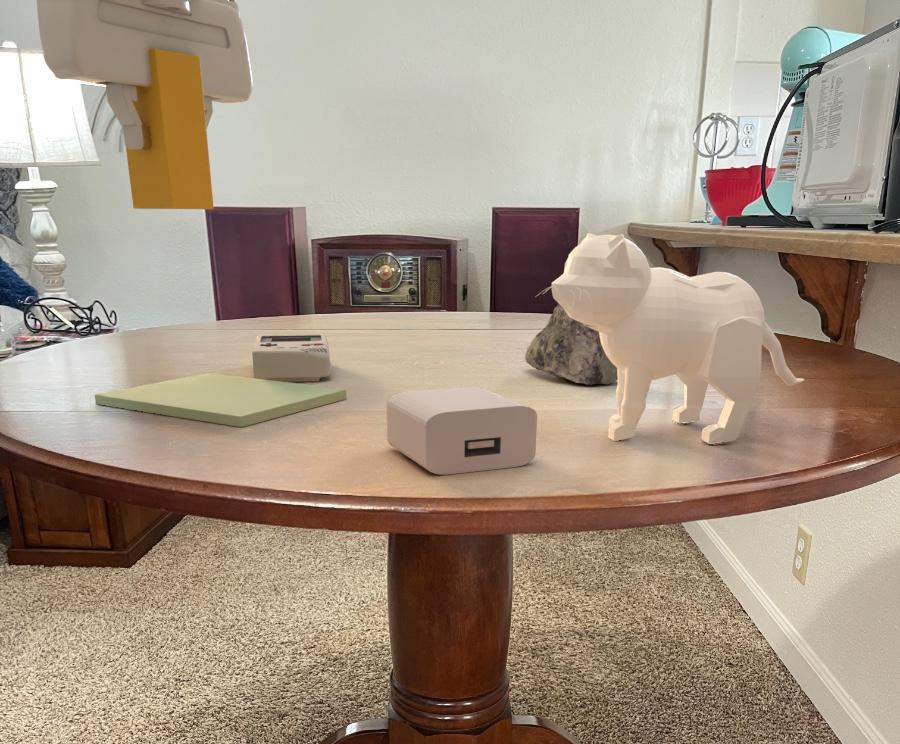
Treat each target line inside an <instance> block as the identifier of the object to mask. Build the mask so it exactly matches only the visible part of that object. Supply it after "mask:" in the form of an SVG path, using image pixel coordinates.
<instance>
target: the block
mask: <svg viewBox="0 0 900 744" xmlns="http://www.w3.org/2000/svg"><path fill="white" fill-rule="evenodd" d="M149 56H150V64H151V72H152V85H151V87H141V86H136V88H137V98H138V101H137V102H133V104H134V107H135V109H136V111H137V113H138V115H139V118H140V120H141V122H142V124H143V125H141V126H149V127H150V133H151V137H150V139H151V142H152V146H151V149H149V150H133V149H127V148H126V147H125V153H126V161H127V167H128V176H129V183H130V191H131V199H132V207H133V209H134V210H143V209H144V210H214V209H215V207H214V196H213V195H214V194H213V184H212V174H211V163H210V153H209V152H210V151H209V144H208V143H209V142H208V129H207V130H206V119H205V108H204V97H203V86H202V76H201V65H200V57H198V56H193V55H187V54H182V53H177V52H172V51H167V50H161V49H156V48H154V49H149Z"/></svg>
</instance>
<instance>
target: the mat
mask: <svg viewBox="0 0 900 744" xmlns="http://www.w3.org/2000/svg"><path fill="white" fill-rule="evenodd" d="M347 396H348V395H347V389H345V388H339V387H330V386H329V387H328V386H321V385H314V384H313V385H312V384H304V383H298V382H281V381H273V380H267V379H256V378H254V377H247V376H240V375H239V376H238V375H229V374H222V373H215V372H206V373H205V372H204V373H199V374H194V375H188V376H183V377H178V378H174V379H169V380H162V381H157V382H153V383H147V384H143V385H137V386H131V387H127V388H122V389H117V390H111V391H106V392H101V393H96V394H95V393H94V400H95V405H97V404H100V405H99V406H103V405H106V406H105V407H110V406H111V407H110V408H116V407H118V408H117V409H122V408H124V409H123V410H130V411H135V410H137V411H136V412H141V411H143V412H142V413H149V414H154V413H155V414H154V415H160V414H161V415H162V416H166V417H167V416H168V417H174V418H179V419H185V420H186V419H187V420H193V421H199V422H206V423H213V424H219V425H223V426H232V427H238V428H245V427H248V426H252V425H255V424H259V423H262V422H267V421H270V420H274V419H279V418H281V417H285V416H288V415H293V414H296V413H299V412H303V411H307V410H311V409H314V408H318V407H321V406H326V405H330V404H332V403H336V402H340V401H344V400H347Z"/></svg>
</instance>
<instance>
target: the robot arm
mask: <svg viewBox="0 0 900 744" xmlns="http://www.w3.org/2000/svg"><path fill="white" fill-rule="evenodd" d="M36 9H37V10H36V11H37V12H36V13H37V22H38V31H39V38H40V45H41V50H42V56H43V59H44V62H45V65H46V66H47V67H48V69H49V71H50V72H51V73H52V74H53V77H55V79H57V80H59V81H66V82H71V83H80V84H86V85H94V86H99V87H100V86H102V87H105V92H106V100H107V103H108V105H109V107H110V108H111V110H112V113H113V114H114V116H115V117H116V120H117V121H118V123H119V124H120V126H122V133H123V140H124V141H123V142H124V146H125V149H126V148H127V149H133V150H149V149H151V146H152V142H151V139H150V137H151V133H150V127H149V126H141V125H143V124H142V122H141V120H140V118H139V115H138V113H137V111H136V109H135V107H134V104H133V102H137V101H138V98H137V88H136V86H141V87H151V85H152V72H151V64H150V56H149V49H154V48H156V49H161V50H167V51H172V52H177V53H182V54H187V55H193V56H198V57H200V65H201V76H202V86H203V97H204V108H205V119H206V130H207V131H208V127H209V124H210V121H211V119H212V115H213V112H214V107H213V102H215V103H223V104H231V103H232V104H233V103H243V102H247V101H249V99H250V97H251V94H252V92H253V89H254V83H253V75H252V67H251V58H250V52H249V47H248V42H247V36H246V32H245V28H244V24H243V21H242V17H241V13H240V8H239V5H238V3H237V2H235V0H36Z"/></svg>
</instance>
